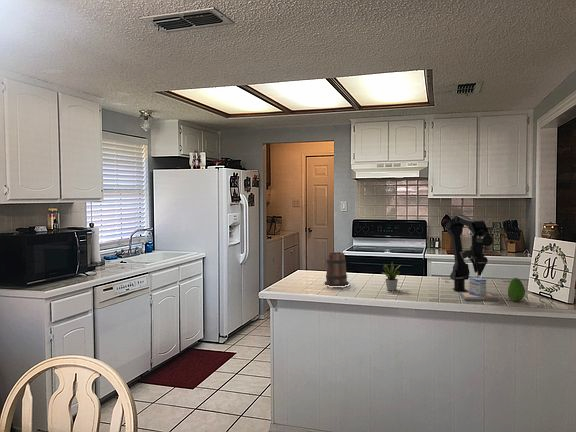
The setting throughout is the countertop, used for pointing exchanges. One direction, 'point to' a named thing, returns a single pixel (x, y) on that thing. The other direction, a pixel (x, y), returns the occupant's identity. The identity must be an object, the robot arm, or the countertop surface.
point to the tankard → (336, 269)
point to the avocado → (516, 290)
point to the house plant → (391, 277)
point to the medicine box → (477, 287)
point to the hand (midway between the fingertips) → (477, 273)
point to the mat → (477, 297)
